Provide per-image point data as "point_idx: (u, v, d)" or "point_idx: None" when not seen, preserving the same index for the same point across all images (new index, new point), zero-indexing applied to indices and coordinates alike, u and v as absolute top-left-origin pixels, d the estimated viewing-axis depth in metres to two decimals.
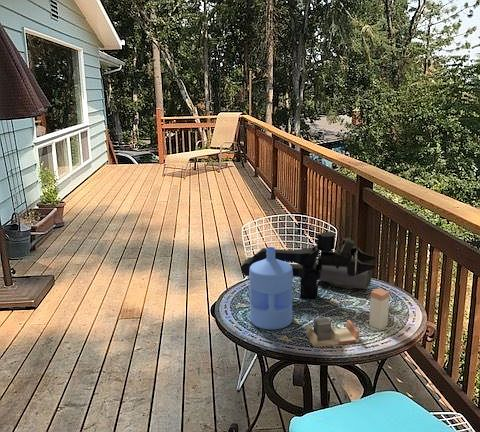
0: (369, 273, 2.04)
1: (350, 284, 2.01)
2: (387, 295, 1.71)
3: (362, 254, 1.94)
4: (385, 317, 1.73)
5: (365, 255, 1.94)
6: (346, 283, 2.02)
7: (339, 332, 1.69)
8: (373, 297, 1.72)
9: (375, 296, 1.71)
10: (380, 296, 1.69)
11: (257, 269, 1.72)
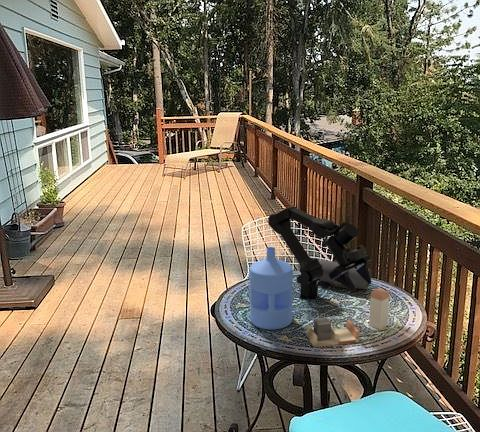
0: (369, 273, 2.04)
1: None
2: (387, 295, 1.71)
3: (365, 270, 1.81)
4: (385, 317, 1.73)
5: (366, 273, 1.81)
6: None
7: (339, 332, 1.69)
8: (373, 297, 1.72)
9: (375, 296, 1.71)
10: (380, 296, 1.69)
11: (257, 268, 1.72)
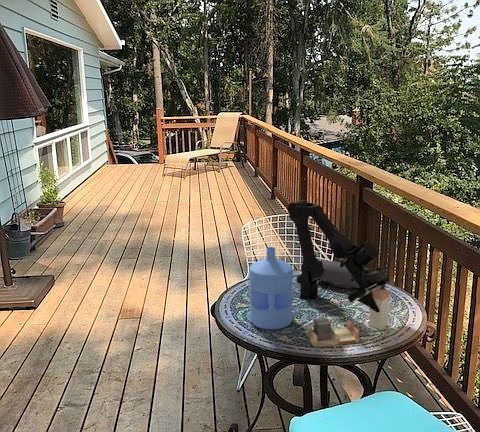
0: None
1: (350, 284, 2.01)
2: (387, 295, 1.71)
3: None
4: (385, 317, 1.73)
5: None
6: (346, 283, 2.02)
7: (339, 332, 1.69)
8: (373, 297, 1.72)
9: (376, 296, 1.71)
10: (380, 296, 1.69)
11: (257, 269, 1.72)
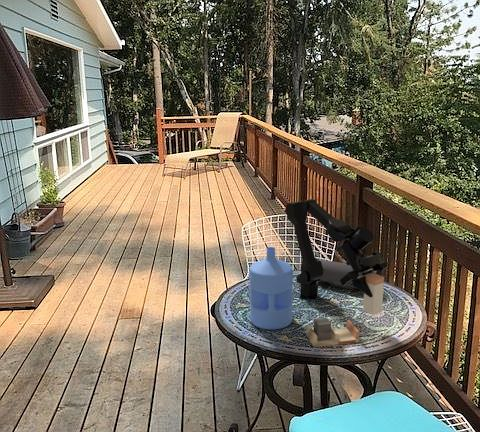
0: None
1: None
2: (381, 280, 1.66)
3: None
4: (379, 303, 1.69)
5: None
6: None
7: (339, 332, 1.69)
8: (367, 282, 1.68)
9: (369, 281, 1.67)
10: (373, 280, 1.65)
11: (257, 269, 1.72)
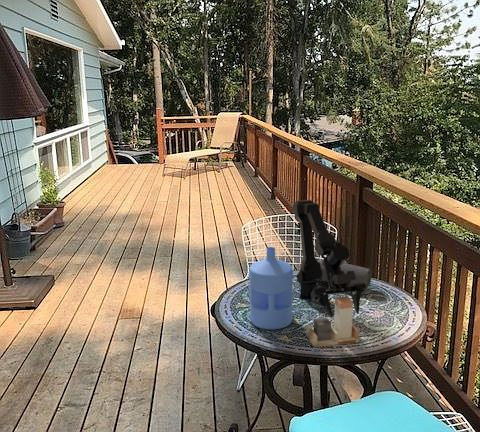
0: (369, 273, 2.04)
1: (350, 284, 2.01)
2: (349, 305, 1.62)
3: (356, 298, 1.66)
4: (347, 327, 1.65)
5: (355, 302, 1.66)
6: None
7: None
8: (336, 304, 1.65)
9: (337, 303, 1.64)
10: (339, 303, 1.62)
11: (257, 268, 1.72)
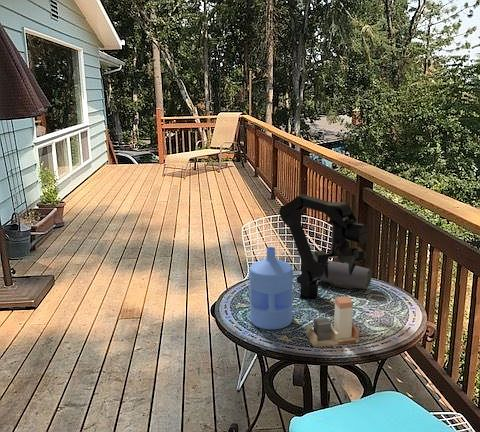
0: (369, 273, 2.04)
1: (350, 284, 2.01)
2: (349, 305, 1.62)
3: (352, 263, 1.84)
4: (347, 327, 1.65)
5: (351, 266, 1.85)
6: (346, 283, 2.02)
7: None
8: (336, 304, 1.65)
9: (337, 303, 1.64)
10: (339, 303, 1.62)
11: (257, 269, 1.72)
